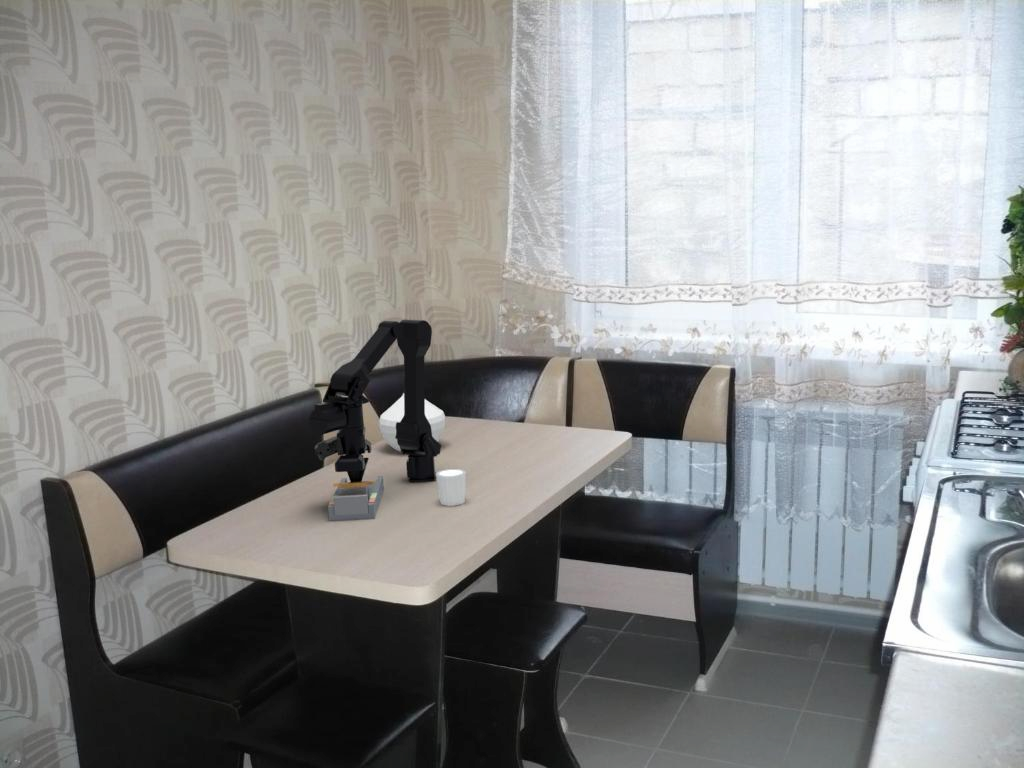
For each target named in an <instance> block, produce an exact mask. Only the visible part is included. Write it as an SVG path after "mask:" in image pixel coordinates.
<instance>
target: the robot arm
mask: <svg viewBox="0 0 1024 768" xmlns="http://www.w3.org/2000/svg"><path fill="white" fill-rule="evenodd" d="M432 333H433V331H432V326H431V325H430V323H429V322H428V321H427V320H423V319H406V318H404V319H401V321H400V322H399V321H397V320H396V321H395V320H384V321H381V322H380V323H379V324H378V327H377V329H376V330H375V332H374V333H373V334H372V335H371V337H370V338H369V339H368V341H367V342H365V344H364V346H363V347H362V348H361V349H360V350H359V352H358V353H357V354H356V356H355V357H354V358H352V360H351V361H349V362H346V363H345V364H343V365H341V366H340V367H339V368H338V369H337V370H336V371H335V372H334V373H332V375H331V377H330V382H329V384H328V387H327V388H326V391H325V394H324V397H323V399H322V403H316V404H314V410H313V411H312V412H311V413H310V415H309V418H308V425H309V427H310V429H311V431H312V432H313V433H314V434H316V435H318V436H323V435H326V434H329V433H333V432H336V431H337V433H336V435H335V436H332V437H330V438H327V439H325V440H323V441H321V442H318V443H317V444H316V445H315V446H314V450H315V455H316V456H318V459H319V461H322V460H325V459H326V458H328V457H331V456H333V455H336V454H337V455H338V456H339V457H338V458H337V459H336V460H335V462H334V470H335V472H336V473H343V472H344V473H346V474H347V476H348V479H349V482H363V479H364V475H365V472H366V469H367V466H368V462H369V460H370V458H369V457H364V455H363V454H366V452H367V454H371V453H372V442H371V441H369V439H367V438H366V436H365V435H366V434H365V433H366V429H367V428H366V426H365V420H364V408H363V405H364V404H369V402H370V400H369V399H368V397H366V396H364V395H363V394H364V393H365V391H366V389H367V387H368V385H369V384H370V382H371V373H372V371H373V370H374V369H375V368H376V366H377V365H378V364H379V362H380V361H381V360H382V358H383V357H384V356H385V354H386V353H387V352H388V350H389V349H390V348H391V347H392V345H393V344H394V343H395V342H397V343H396V344H397V347H398V349H399V350H400V352H401V354H402V356H403V394H404V416H403V418H402V420H401V422H397V423H396V437H395V439H397V443H398V445H399V446H400V449H401V452H400V453H401V454H402V455H404V456H405V455H408V456H407V459H406V460H405V461H406V463H405V464H406V478H407V479H408V482H409V483H413V482H415V483H416V482H417V483H418V482H433V481H434V482H435V481H436V480H437V478H436V473H437V471H436V463H435V461H436V460H435V457H438V455H440V454H441V450H442V445H441V444H440V443H439V441H438V442H437V441H436V440H435V439H434V438H433V437H432V431H431V425H430V423H429V422H428V420H427V418H426V416H425V399H426V397H425V394H426V393H425V392H426V391H425V356H426V354H427V352H428V351H429V349H430V347H431V343H432V336H433V335H432Z"/></svg>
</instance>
